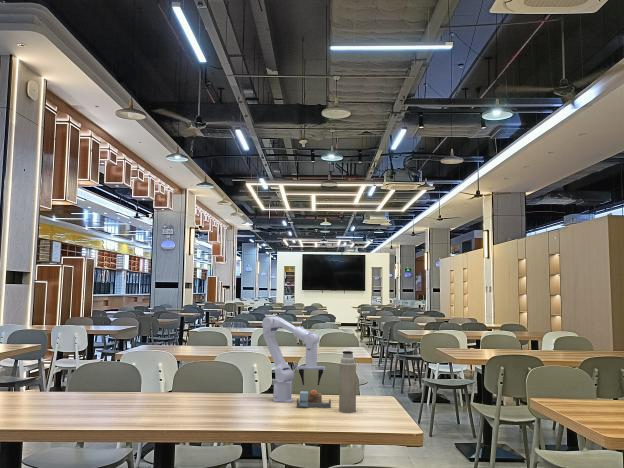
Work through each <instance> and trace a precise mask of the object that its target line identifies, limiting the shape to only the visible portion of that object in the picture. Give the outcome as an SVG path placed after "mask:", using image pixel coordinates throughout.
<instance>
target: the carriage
mask: <svg viewBox="0 0 624 468" xmlns="http://www.w3.org/2000/svg"><path fill="white" fill-rule="evenodd" d="M308 393H309V391H302V390H301V391H299V402H300V406H308Z"/></svg>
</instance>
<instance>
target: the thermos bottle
mask: <svg viewBox="0 0 624 468" xmlns="http://www.w3.org/2000/svg"><path fill="white" fill-rule="evenodd" d="M353 353H354V351H351V350H344V351H342V357H341V358H340V362H339V367H338V368H339V369H338V370H339V373H338V375H339V376H338V377H339V379H338V380H339V382H338V384H339V385H338V387H339V388H338V395H339V396H338V411H339V412H340V413H346V414H348V413H349V414H350V413H352V414H353V413H355V412H357V408H356V407H357V363H356V360H355V358H354V355H353Z"/></svg>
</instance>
